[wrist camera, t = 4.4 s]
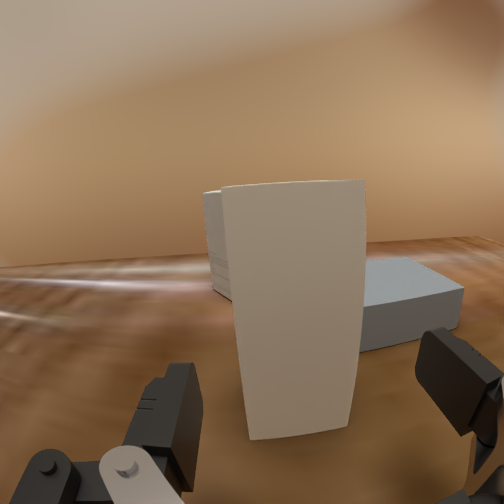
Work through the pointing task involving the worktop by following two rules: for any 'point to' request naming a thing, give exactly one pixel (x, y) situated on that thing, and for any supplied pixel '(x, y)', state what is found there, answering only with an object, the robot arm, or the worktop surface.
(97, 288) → the worktop surface
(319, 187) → the cream block
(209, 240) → the supplement box
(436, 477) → the worktop surface
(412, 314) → the plinth
